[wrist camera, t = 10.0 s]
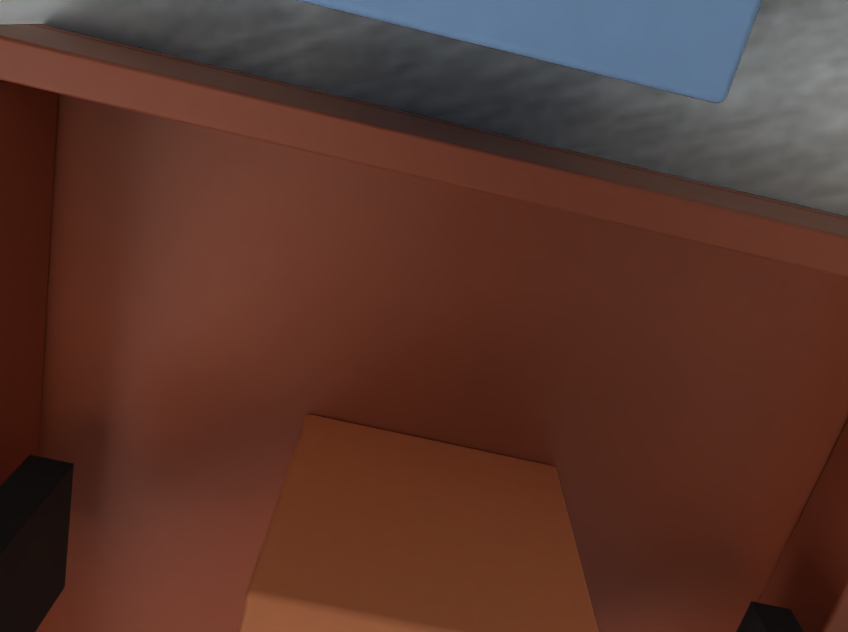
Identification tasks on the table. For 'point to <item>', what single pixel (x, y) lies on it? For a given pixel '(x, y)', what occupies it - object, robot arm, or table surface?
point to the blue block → (593, 35)
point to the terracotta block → (414, 540)
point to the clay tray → (402, 337)
